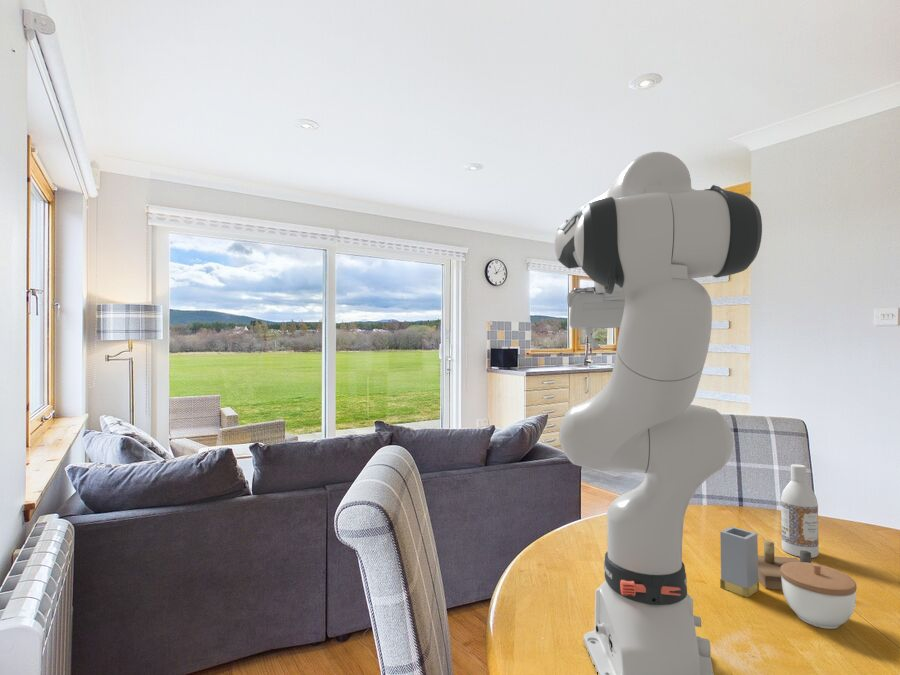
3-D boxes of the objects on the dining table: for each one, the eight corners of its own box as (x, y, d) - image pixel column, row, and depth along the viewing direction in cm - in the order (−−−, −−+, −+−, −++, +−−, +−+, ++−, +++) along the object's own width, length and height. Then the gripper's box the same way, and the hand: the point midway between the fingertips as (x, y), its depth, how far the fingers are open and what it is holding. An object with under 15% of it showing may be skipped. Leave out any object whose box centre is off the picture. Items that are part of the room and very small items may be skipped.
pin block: (822, 593, 96) (822, 559, 96) (765, 588, 98) (764, 555, 98) (797, 569, 105) (796, 539, 105) (745, 566, 107) (745, 536, 107)
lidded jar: (784, 597, 94) (783, 547, 94) (857, 616, 87) (856, 563, 88) (777, 621, 86) (776, 567, 86) (857, 645, 79) (856, 586, 79)
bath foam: (799, 559, 110) (797, 469, 111) (774, 547, 117) (773, 462, 117) (826, 557, 111) (824, 468, 112) (800, 545, 118) (799, 461, 118)
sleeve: (747, 597, 94) (746, 539, 94) (720, 587, 98) (719, 531, 98) (759, 589, 97) (758, 533, 97) (732, 580, 101) (731, 526, 101)
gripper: (567, 286, 109) (569, 349, 108) (666, 281, 105) (669, 347, 104) (566, 290, 115) (568, 349, 114) (659, 286, 111) (662, 347, 110)
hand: (617, 348), depth 109 cm, fingers open, 8 cm apart
